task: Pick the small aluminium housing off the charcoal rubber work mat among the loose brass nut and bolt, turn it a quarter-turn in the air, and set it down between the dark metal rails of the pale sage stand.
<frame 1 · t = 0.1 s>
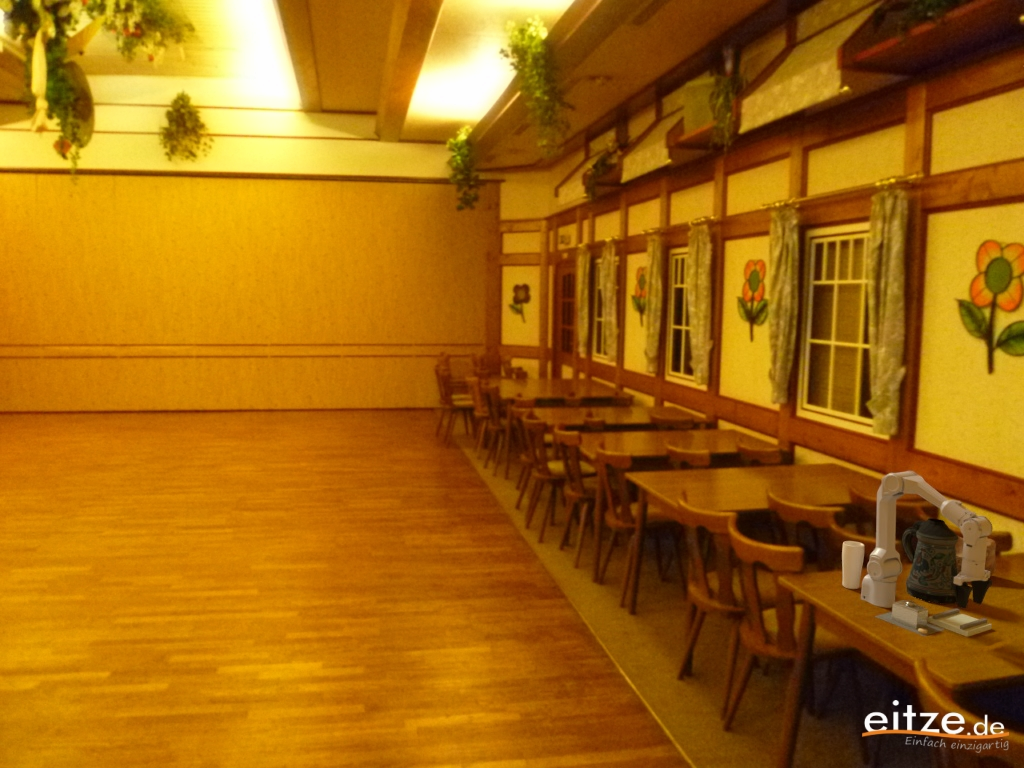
hand: (969, 605, 230), 10 cm above the table, tool pointing down, fingers open, 7 cm apart
drinking glass: (850, 587, 271), on the table
housing: (908, 622, 239), point 1 cm above the table, touching work mat
work mat: (908, 626, 239), on the table
beer stein: (927, 594, 267), on the table
stand: (958, 628, 238), on the table
rough brown rock: (954, 574, 287), on the table
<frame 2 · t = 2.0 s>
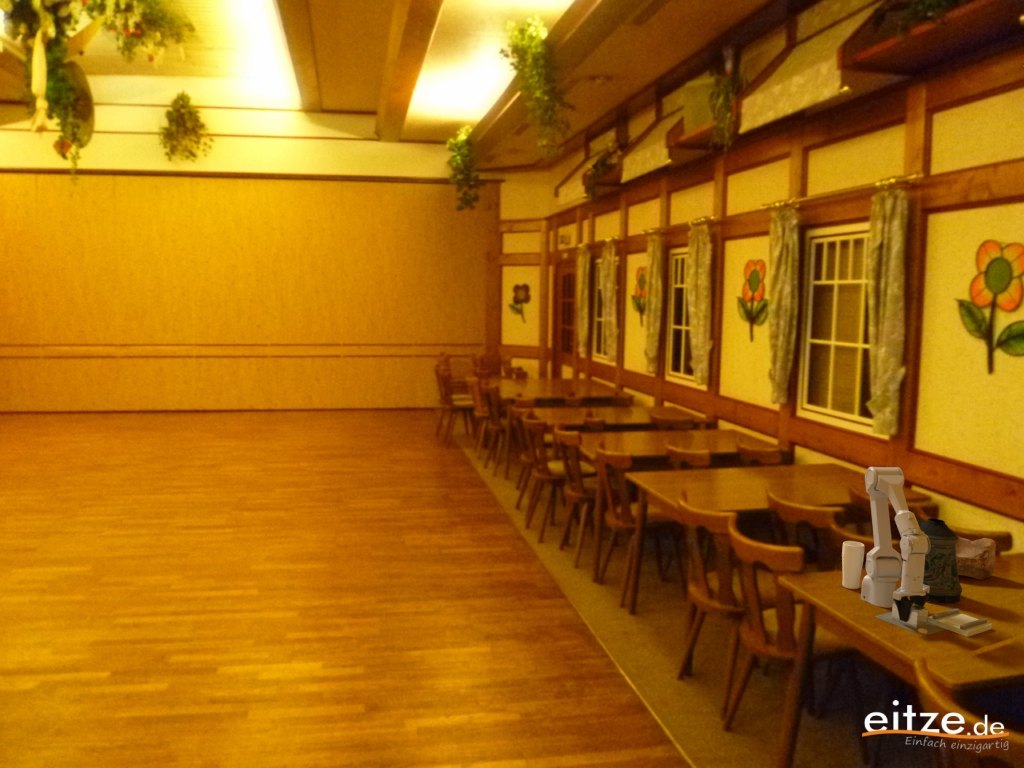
hand: (909, 619, 239), 2 cm above the table, tool pointing down, fingers closed on housing, 5 cm apart
housing: (908, 622, 239), point 1 cm above the table, touching gripper, work mat
everything else where it was.
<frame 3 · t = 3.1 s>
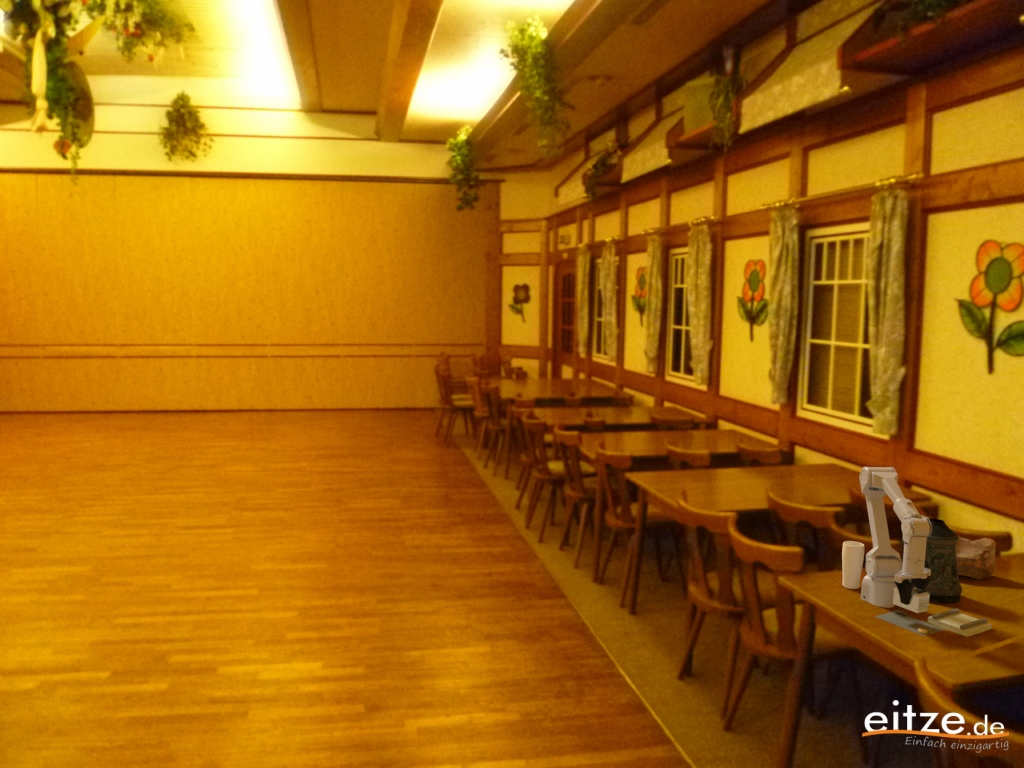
hand: (910, 602, 238), 7 cm above the table, tool pointing down, fingers closed on housing, 5 cm apart
housing: (910, 606, 239), point 6 cm above the table, touching gripper
everything else where it was.
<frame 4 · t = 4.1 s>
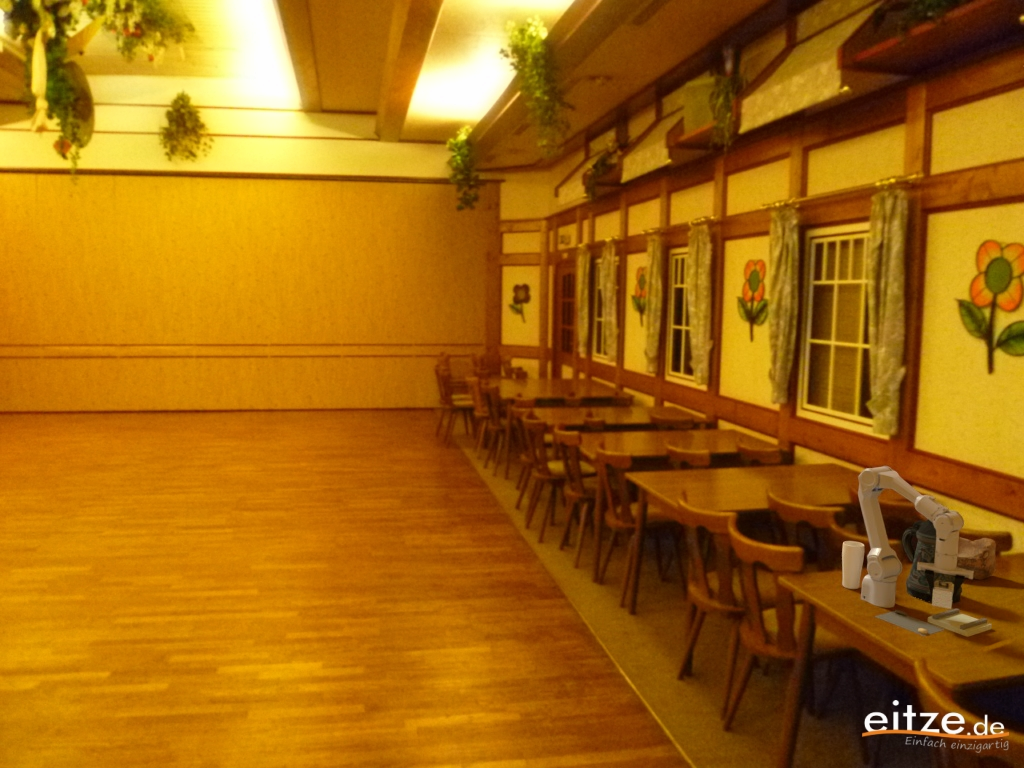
hand: (942, 597, 238), 9 cm above the table, tool pointing down, fingers closed on housing, 5 cm apart
housing: (942, 602, 238), point 8 cm above the table, touching gripper
everything else where it was.
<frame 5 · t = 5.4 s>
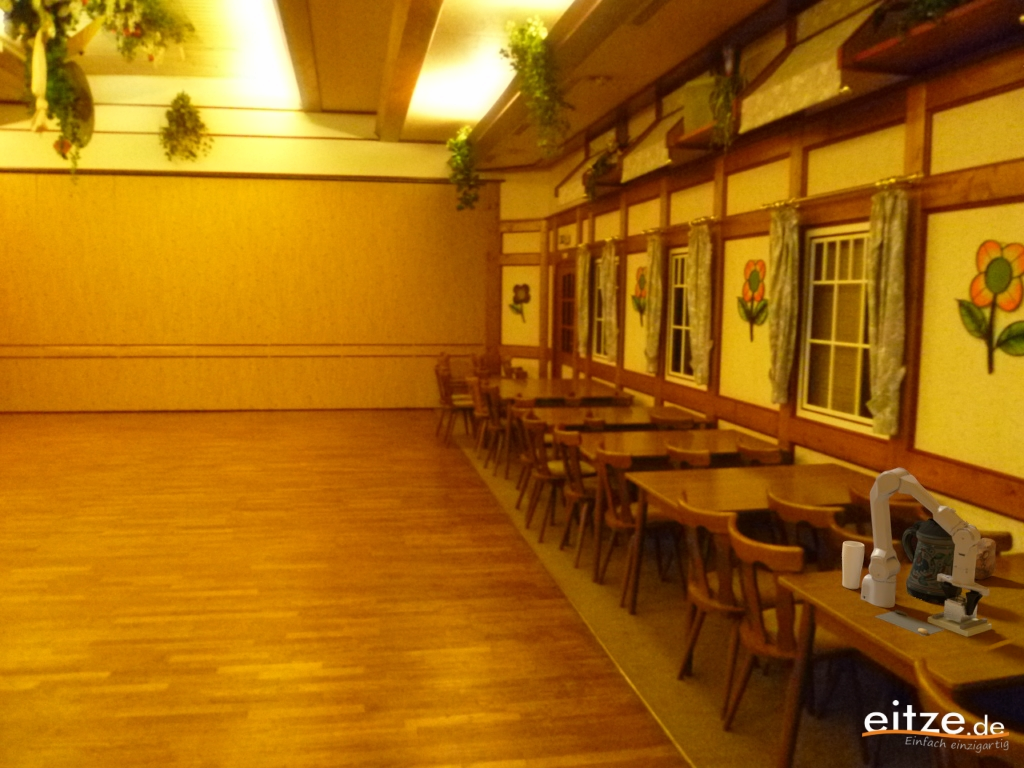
hand: (960, 611, 238), 5 cm above the table, tool pointing down, fingers closed on housing, 5 cm apart
housing: (959, 617, 238), point 3 cm above the table, touching gripper
everything else where it was.
when the fingers open (5 cm above the table, at t = 6.2 s): housing stays where it is, resting on stand.
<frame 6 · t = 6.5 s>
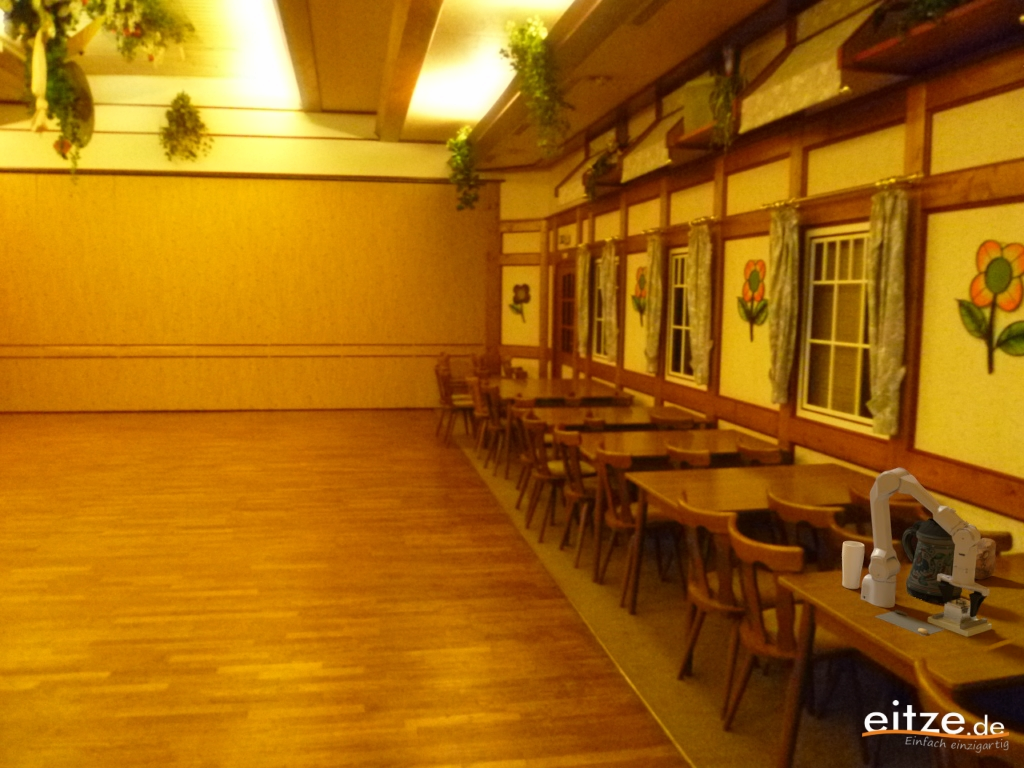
hand: (960, 611, 238), 5 cm above the table, tool pointing down, fingers open, 7 cm apart
housing: (959, 620, 238), point 2 cm above the table, touching stand
everything else where it was.
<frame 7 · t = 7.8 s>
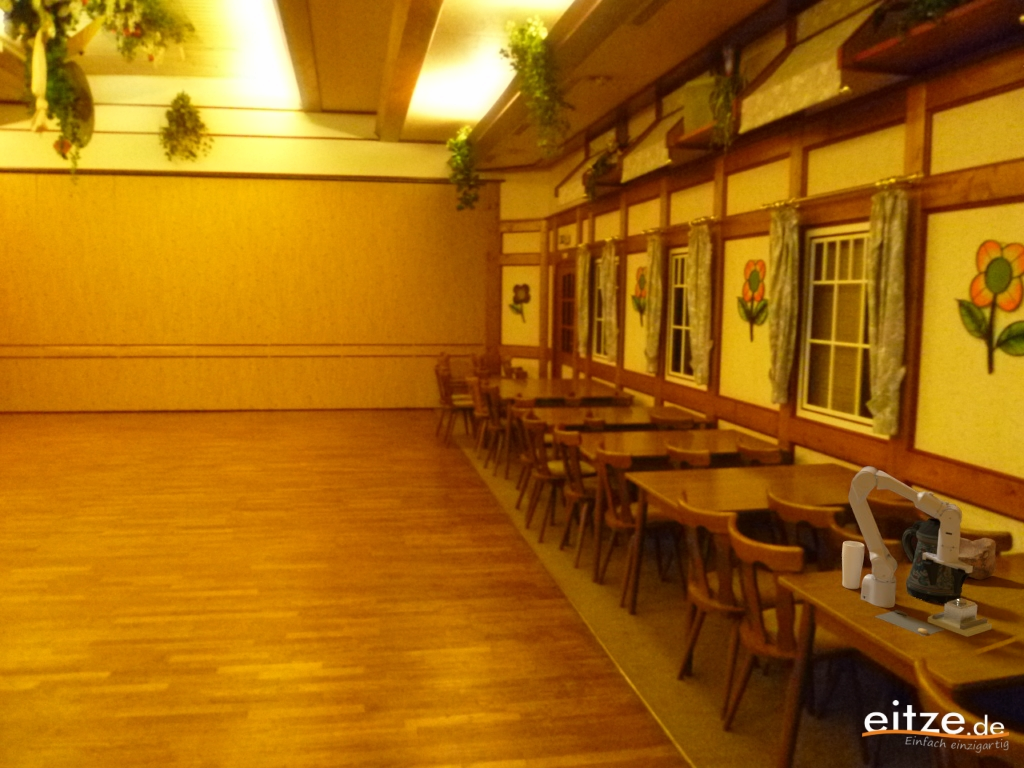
hand: (944, 588, 245), 9 cm above the table, tool pointing down, fingers open, 7 cm apart
nothing on the table moved.
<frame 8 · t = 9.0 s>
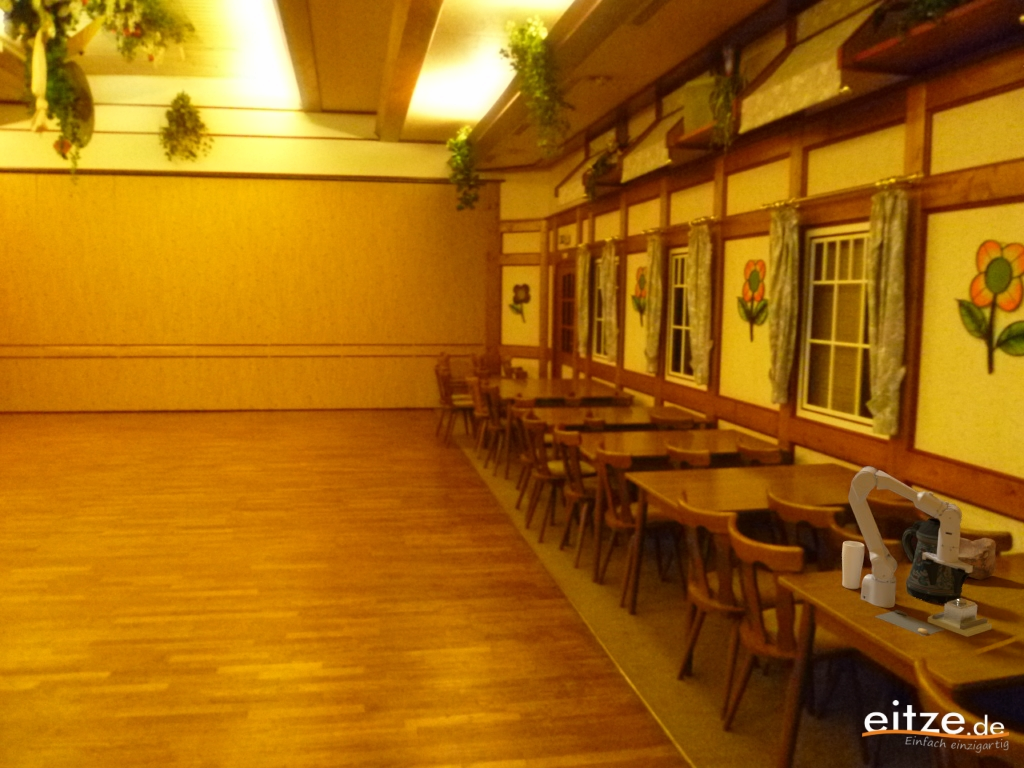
hand: (944, 588, 245), 9 cm above the table, tool pointing down, fingers open, 7 cm apart
nothing on the table moved.
at the end: housing 0.1 cm off-centre on the stand, point 2.5 cm above the stand's base; housing tilted 0°; the gripper is holding nothing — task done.
